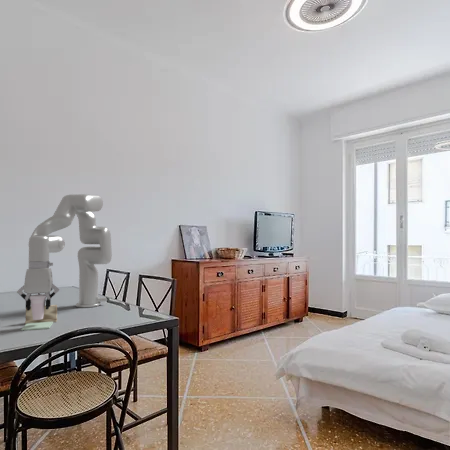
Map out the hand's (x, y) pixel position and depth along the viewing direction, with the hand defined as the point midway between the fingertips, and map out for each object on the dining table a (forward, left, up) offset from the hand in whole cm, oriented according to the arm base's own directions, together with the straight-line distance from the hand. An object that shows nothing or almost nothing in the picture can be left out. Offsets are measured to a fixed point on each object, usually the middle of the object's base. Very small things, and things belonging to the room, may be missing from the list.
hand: (38, 308), depth 146 cm
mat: (0, 0, -7) cm, 7 cm away
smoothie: (0, 0, -4) cm, 4 cm away
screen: (0, -8, -7) cm, 11 cm away
